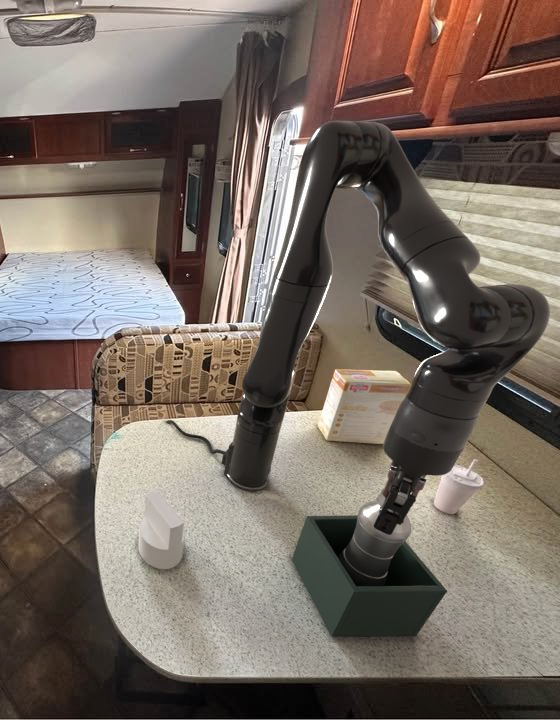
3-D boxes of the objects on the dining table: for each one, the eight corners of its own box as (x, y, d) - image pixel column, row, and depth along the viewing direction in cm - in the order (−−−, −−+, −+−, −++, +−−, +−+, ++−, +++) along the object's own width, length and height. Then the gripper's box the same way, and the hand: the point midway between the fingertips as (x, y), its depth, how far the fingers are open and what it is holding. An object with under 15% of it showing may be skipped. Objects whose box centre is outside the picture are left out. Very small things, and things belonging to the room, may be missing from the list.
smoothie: (472, 521, 79) (503, 472, 73) (437, 517, 80) (465, 468, 74) (451, 497, 85) (479, 450, 78) (419, 494, 86) (444, 447, 79)
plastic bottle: (382, 604, 61) (430, 522, 51) (333, 584, 64) (370, 502, 55) (379, 571, 65) (422, 490, 56) (334, 554, 69) (368, 474, 59)
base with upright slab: (130, 539, 79) (131, 499, 73) (165, 523, 82) (169, 484, 76) (154, 576, 71) (157, 535, 66) (192, 558, 74) (198, 517, 69)
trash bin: (331, 636, 61) (354, 591, 55) (291, 559, 73) (306, 515, 67) (415, 636, 61) (447, 591, 55) (361, 558, 73) (383, 514, 67)
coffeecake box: (372, 429, 107) (396, 370, 98) (386, 445, 101) (413, 384, 92) (316, 425, 109) (334, 367, 100) (326, 441, 103) (346, 381, 94)
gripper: (463, 474, 43) (410, 564, 51) (467, 417, 52) (422, 502, 60) (383, 446, 48) (346, 532, 56) (400, 398, 57) (366, 479, 65)
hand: (385, 516), depth 58 cm, fingers closed on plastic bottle, 6 cm apart
